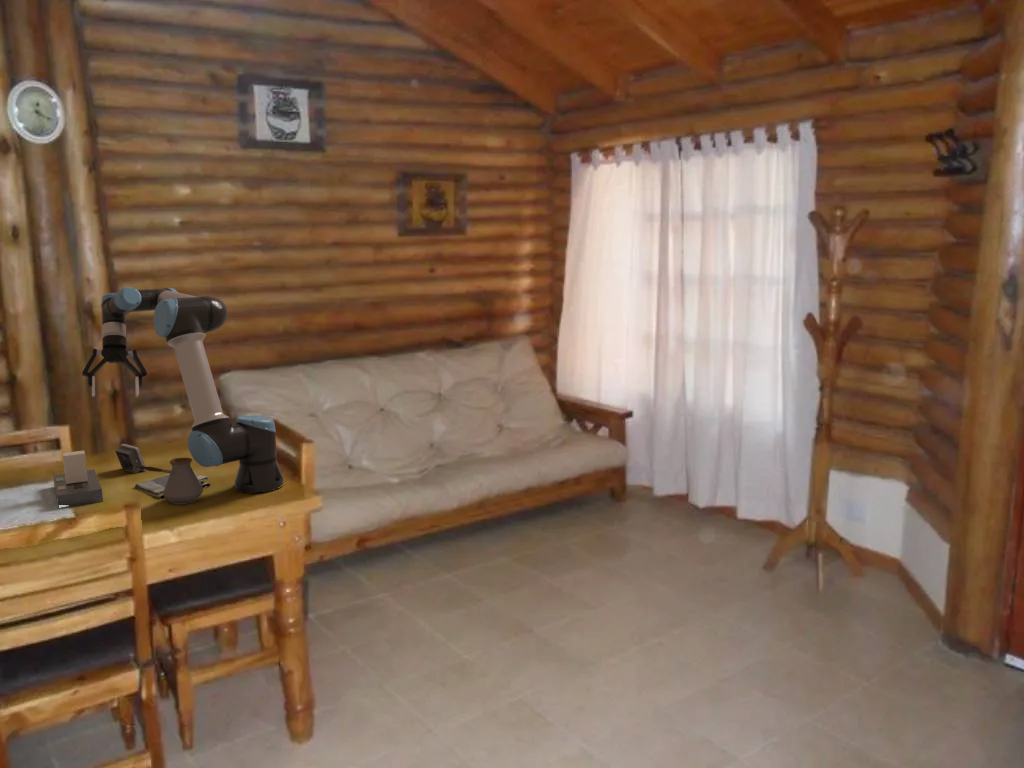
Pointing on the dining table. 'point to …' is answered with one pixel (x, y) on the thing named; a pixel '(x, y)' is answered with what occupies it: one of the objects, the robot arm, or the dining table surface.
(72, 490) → the box
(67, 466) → the handle
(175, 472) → the coffee pot
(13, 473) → the dining table surface
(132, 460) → the electrical switch
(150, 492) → the dish towel
